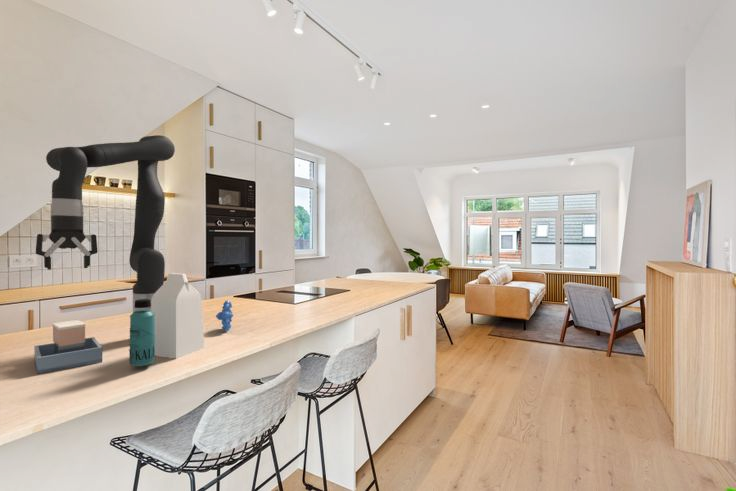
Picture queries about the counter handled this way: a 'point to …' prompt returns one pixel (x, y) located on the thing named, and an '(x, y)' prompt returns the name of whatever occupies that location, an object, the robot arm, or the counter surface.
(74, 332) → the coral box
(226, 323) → the grapes
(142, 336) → the beverage bottle
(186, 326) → the milk
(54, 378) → the counter surface
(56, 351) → the iron block
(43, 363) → the box
